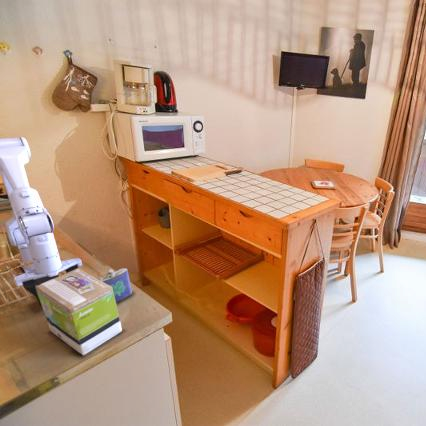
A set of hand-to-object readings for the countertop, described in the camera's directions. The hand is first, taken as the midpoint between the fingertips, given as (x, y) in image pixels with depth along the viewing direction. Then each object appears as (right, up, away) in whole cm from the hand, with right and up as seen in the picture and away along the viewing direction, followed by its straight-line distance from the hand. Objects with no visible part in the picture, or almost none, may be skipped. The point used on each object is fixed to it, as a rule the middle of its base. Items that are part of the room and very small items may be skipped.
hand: (57, 295), depth 92 cm
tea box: (+16, -7, -10) cm, 20 cm away
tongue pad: (-7, +1, +6) cm, 9 cm away
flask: (+16, -2, +2) cm, 16 cm away
